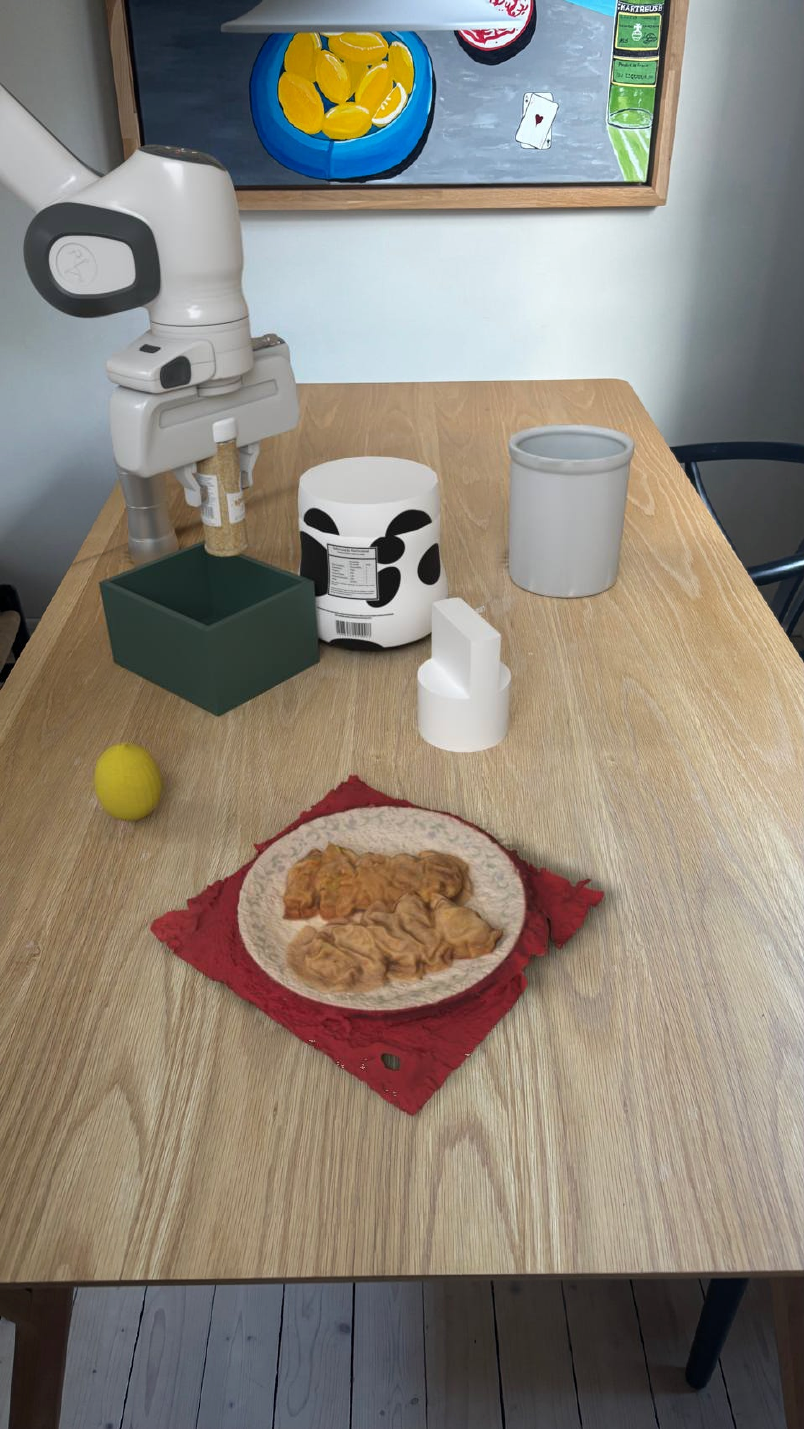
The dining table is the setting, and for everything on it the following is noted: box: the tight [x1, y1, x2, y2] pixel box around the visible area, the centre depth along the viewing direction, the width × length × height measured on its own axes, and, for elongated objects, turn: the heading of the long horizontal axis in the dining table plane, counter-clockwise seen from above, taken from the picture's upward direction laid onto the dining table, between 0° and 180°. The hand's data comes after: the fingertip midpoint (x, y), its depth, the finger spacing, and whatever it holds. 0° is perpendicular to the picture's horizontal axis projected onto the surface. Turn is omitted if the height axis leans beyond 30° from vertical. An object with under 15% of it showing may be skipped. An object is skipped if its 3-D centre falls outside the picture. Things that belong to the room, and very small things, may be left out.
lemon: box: [93, 742, 163, 822], centre depth 88 cm, size 6×6×8 cm
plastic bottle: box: [113, 455, 180, 567], centre depth 130 cm, size 6×7×20 cm
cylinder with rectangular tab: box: [417, 597, 512, 753], centre depth 98 cm, size 9×9×12 cm
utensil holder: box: [508, 423, 636, 599], centre depth 126 cm, size 15×15×18 cm
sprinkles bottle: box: [195, 418, 250, 557], centre depth 100 cm, size 5×5×13 cm
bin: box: [98, 539, 320, 718], centre depth 111 cm, size 18×15×10 cm
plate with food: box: [150, 774, 605, 1117], centre depth 78 cm, size 24×26×4 cm
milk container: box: [297, 455, 449, 652], centre depth 115 cm, size 17×17×18 cm
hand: (220, 496), depth 100 cm, fingers closed on sprinkles bottle, 4 cm apart
